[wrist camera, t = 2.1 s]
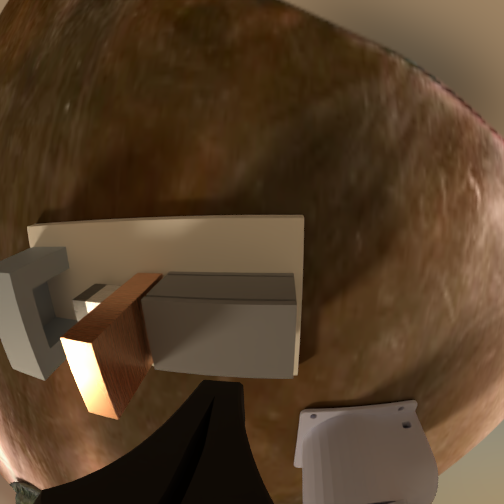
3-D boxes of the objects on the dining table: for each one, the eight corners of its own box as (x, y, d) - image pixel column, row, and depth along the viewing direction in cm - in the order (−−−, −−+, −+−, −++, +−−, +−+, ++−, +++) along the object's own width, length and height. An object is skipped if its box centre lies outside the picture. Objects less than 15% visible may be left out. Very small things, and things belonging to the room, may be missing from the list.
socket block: (65, 246, 17) (9, 273, 12) (86, 338, 19) (45, 380, 14) (33, 246, 18) (-20, 270, 12) (54, 332, 20) (12, 368, 14)
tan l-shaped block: (284, 275, 16) (285, 361, 9) (283, 339, 17) (281, 440, 10) (95, 271, 17) (14, 326, 10) (107, 327, 18) (42, 395, 11)
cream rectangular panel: (302, 214, 16) (311, 234, 12) (297, 365, 19) (299, 419, 14) (35, 224, 18) (-12, 240, 14) (62, 341, 21) (28, 373, 16)
